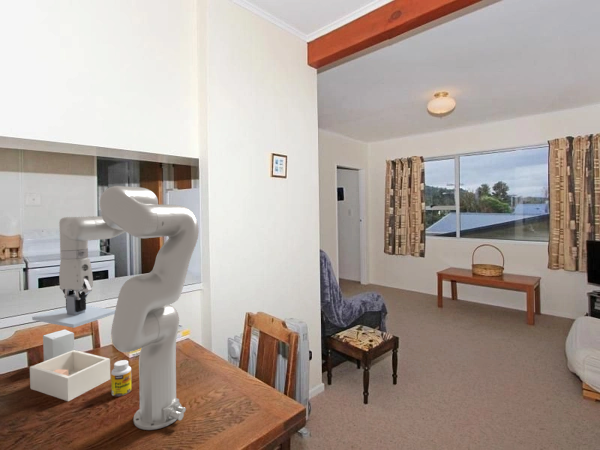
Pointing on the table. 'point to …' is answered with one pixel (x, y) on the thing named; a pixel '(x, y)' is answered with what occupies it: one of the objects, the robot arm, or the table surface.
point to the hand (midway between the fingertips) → (76, 309)
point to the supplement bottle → (121, 378)
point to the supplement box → (57, 344)
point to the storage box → (70, 374)
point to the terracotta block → (61, 371)
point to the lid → (73, 314)
